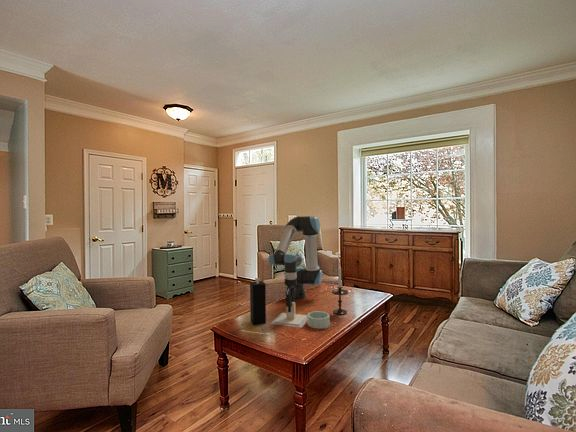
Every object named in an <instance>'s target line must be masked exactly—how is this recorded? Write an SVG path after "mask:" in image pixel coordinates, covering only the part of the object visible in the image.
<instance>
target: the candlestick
mask: <svg viewBox="0 0 576 432" xmlns="http://www.w3.org/2000/svg"><path fill="white" fill-rule="evenodd" d="M337 272H338V273H337V274H338V277H337V278H338V279H337V280H338V282H337V283H338V286H336V289H332V290H331V293H332V294H331V295H336V296H338V300H337V302H338V305H337V306H338V308H336V309H333V310H332V312H333V314H335V315H337V316H344V315H346V314H348V311H347V310H346V309H344V308H342V303H343V300H342V296H347V295H348V294H349V290H347V289H345V288H344V287H343V286H342V267H341V261H339V262H338V268H337Z"/></svg>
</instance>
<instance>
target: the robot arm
mask: <svg viewBox="0 0 576 432" xmlns="http://www.w3.org/2000/svg"><path fill="white" fill-rule="evenodd" d="M320 231H321V222H320V219H319V218H318V217H317V216H312V215H311V216H295V217H293V218H292V219H289V221H287V223H286V224H285V226H284V232H283V234H282V236H281V239H280V241H279V242H278V244H277V248H276V249H275V251H274V253H273V252H272V253H270V254H269V256H268V263H269V264H270V265H272V266H284V267H283V268H284V272H283V275H284V285H285V286H287V287H286V291H285V304H286V305H285V306H287V307H288V317H292V302H295V303H296V300H299V299H305V298H306V297H307V292H306V290H305V287H304V285H309V286H310V285H312V286H319V285H321V283H322V279H323V270H321V268H320V265H319V263H318V250H317V249H318V246H317V235H318V234H319V232H320ZM298 232H301V233H302V236H303V237H304V243H305V244H304V245H305V246H304V247H305V260H306V266H305V267H303V266H300V265H301V264H303V261H304V259H303V256H302V254H300V253H294V252H293V253H291V252H290V253H289V252H288V250H289V248H290V246H291V243H292V241H293V239H294V236H295V235H296V234H297V233H298Z"/></svg>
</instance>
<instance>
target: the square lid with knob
mask: <svg viewBox="0 0 576 432" xmlns="http://www.w3.org/2000/svg"><path fill="white" fill-rule="evenodd" d="M285 306H286V305H285ZM285 309H286V310H285V311H286V312H282V313H283V314H282V315H281V316H280V317H279V318H278V319H277V320H276V321H275V323H280V324H289V325H297V326H300V325H301V323H302V322H303V321H304V319H305V318H306V317H307V315H308V314H301V313H300V314H299V313H296V301H295V302H292V317H288V307H287V306H286V308H285Z"/></svg>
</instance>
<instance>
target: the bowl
mask: <svg viewBox="0 0 576 432" xmlns="http://www.w3.org/2000/svg"><path fill="white" fill-rule="evenodd" d="M306 315H307V321H306V322H307V323H306V325H308V327H310V328H312V329H325V330H326V329H328V328H329V327H330V326H331V324H330V323H331V320H330V319H331V318H330V317H331V315H330V314H329V313H328V312H325V311H322V310H321V311H320V310H316V311H309V312H308V313H307V314H306Z"/></svg>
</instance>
